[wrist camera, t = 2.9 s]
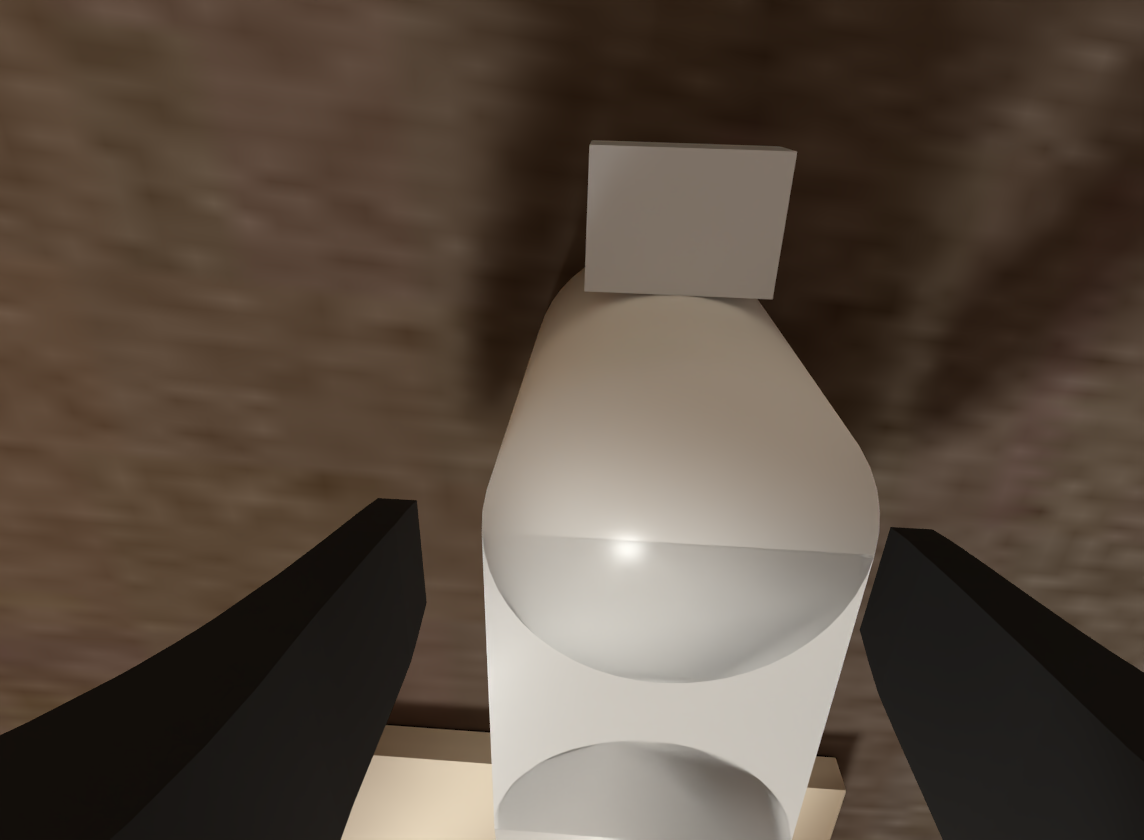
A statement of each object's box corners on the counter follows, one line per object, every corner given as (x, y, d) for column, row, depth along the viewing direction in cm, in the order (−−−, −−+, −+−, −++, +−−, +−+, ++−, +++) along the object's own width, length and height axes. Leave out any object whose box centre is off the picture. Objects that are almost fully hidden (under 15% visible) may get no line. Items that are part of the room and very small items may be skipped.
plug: (536, 129, 10) (465, 159, 5) (811, 138, 9) (984, 176, 5) (535, 656, 14) (497, 910, 10) (718, 669, 14) (764, 933, 10)
